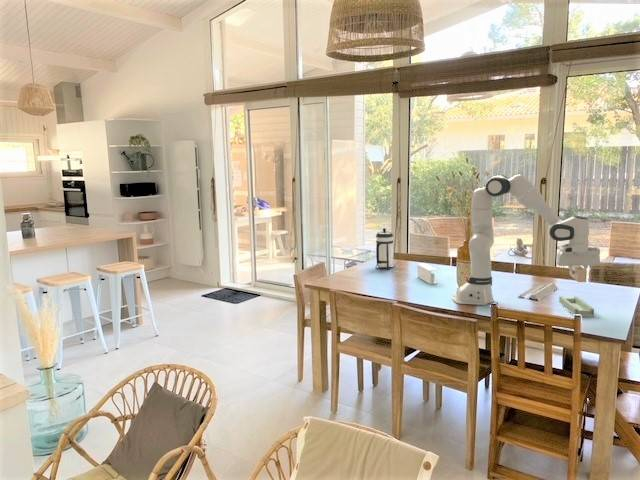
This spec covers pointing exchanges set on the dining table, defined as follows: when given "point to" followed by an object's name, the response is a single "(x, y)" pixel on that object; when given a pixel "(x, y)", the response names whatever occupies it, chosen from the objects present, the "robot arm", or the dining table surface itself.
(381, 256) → the coffee press
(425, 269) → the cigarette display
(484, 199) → the robot arm
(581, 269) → the tan rectangular block
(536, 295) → the crown molding
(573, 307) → the green rectangular tray
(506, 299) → the dining table surface
